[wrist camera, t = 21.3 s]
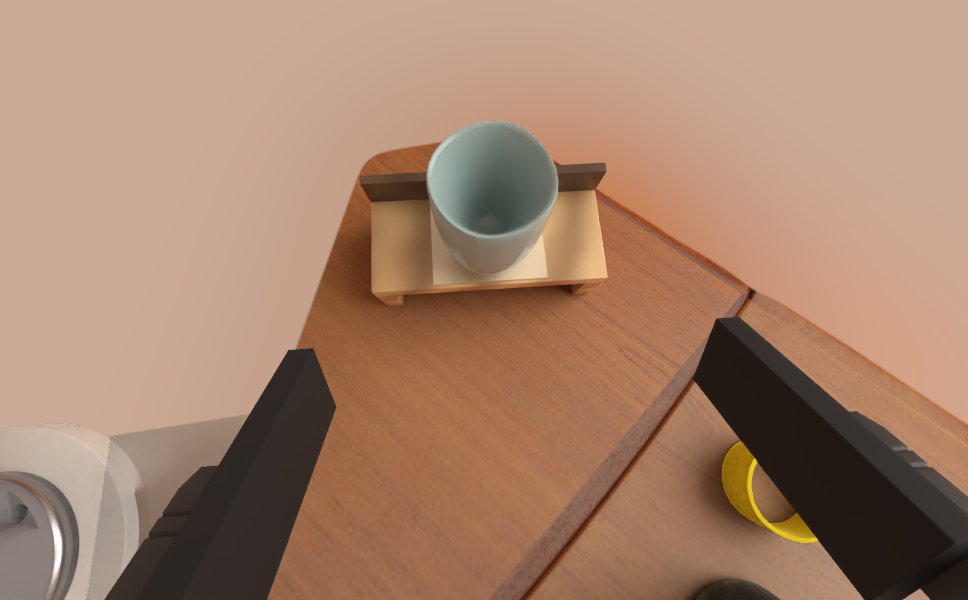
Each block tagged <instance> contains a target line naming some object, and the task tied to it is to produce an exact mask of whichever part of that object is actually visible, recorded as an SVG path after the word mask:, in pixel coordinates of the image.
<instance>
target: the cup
mask: <svg viewBox="0 0 968 600" xmlns="http://www.w3.org/2000/svg"><path fill="white" fill-rule="evenodd" d="M426 185H427V194H428V199H429V202H430V206H431V210H432V213H433V217H434V220H435V223H436V226H437V229H438V232H439V235H440V237H441V239H442V241H443V243H444V245H445V247H446V249H447V250H448V252H449V253H450V254H451V256H452V257H453V258H454V259H455V260H456V261H457V262H458V263H459V264H460V265H461V266H462V267H464V268H465V269H467V270H469V271H470V272H473V273H476V274H479V275H495V274H499V273H502V272H505V271H507V270H509V269H511V268H513V267H514V266H516V265H517V264H518V263H520V262H521V261H522V260H523V259H524V258H525V257H526V256H527V255H528V254H529V253H530V252H531V251H532V249H533V248H534V246H535V245H536V243H537V241H538V240H539V238H540V236H541V235H542V233H543V231H544V229H545V226H546V224H547V222H548V220H549V218H550V215H551V213H552V210H553V207H554V205H555V202H556V199H557V195H558V176H557V170H556V167H555V165H554V162H553V160H552V158H551V156H550V155H549V153H548V151H547V150H546V148H545V147H544V146H543V145H542V144H541V143H540V141H539V140H538V139H537V138H536V137H534V136H533V135H532V134H531V133H529V132H528V131H527V130H524V129H523V128H521V127H519V126H517V125H515V124H511V123H508V122H504V121H484V122H479V123H475V124H471V125H469V126H467V127H464V128H462V129H460V130H458V131H456V132H455V133H453V134H452V135H450V136H449V137H447V138H446V139H445V140H444V141H443V142H442V143H441V144H440V145H439V146H438V147H437V149H436V150H435V151H434V153H433V154H432V156H431V159H430V161H429V163H428V167H427V173H426Z"/></svg>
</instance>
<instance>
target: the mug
mask: <svg viewBox="0 0 968 600" xmlns="http://www.w3.org/2000/svg"><path fill="white" fill-rule="evenodd" d="M695 600H780V599H779V598H777V597H776V596H775V595H773V594H772V593H771V592H769V591H768V590H766V589H764V588H763V587H761V586H759V585H757V584H754V583H752V582H749V581H744V580H726V581H721V582H718V583H715V584H713V585H711V586H709V587H708V588H706V589H704V590H703V591H702V592H701V593H700V594H699V595H698V596H697V598H696V599H695Z"/></svg>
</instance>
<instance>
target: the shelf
mask: <svg viewBox="0 0 968 600" xmlns="http://www.w3.org/2000/svg"><path fill="white" fill-rule="evenodd" d="M555 167H556V170H557V176H558V195H557V199H556V202H555V205H554V207H553V210H552V213H551V215H550V218H549V220H548V222H547V224H546V226H545V229H544V231H543V233H542V235H541V236H540V238H539V240H538V241H537V243H536V245H535V246H534V248H533V249H532V251H531V252H530V253H529V254H528V255H527V256H526V257H525V258H524V259H523V260H522V261H521V262H520V263H518V264H517V265H516V266H514V267H513V268H511V269H509V270H507V271H505V272H502V273H499V274H495V275H479V274H476V273H473V272H470V271H469V270H467V269H465V268H464V267H462V266H461V265H460V264H459V263H458V262H457V261H456V260H455V259H454V258H453V257H452V256H451V254H450V253H449V252H448V250H447V249H446V247H445V245H444V243H443V241H442V239H441V237H440V235H439V232H438V229H437V226H436V223H435V220H434V217H433V213H432V210H431V206H430V202H429V199H428V194H427V185H426V173H427V172H422V173H403V174H384V175H365V176H360V185H361V187H362V188H363V190H364V191H365V193H366V195H367V196H368V198H369V200H370V201H371V292H372V293H373V294H374V295H375V296H377V297H378V298H379V299H380V300H381V301H383V302H384V303H385V304H386V305H388V306H389V307H392V306H404V295H409V294H425V293H440V292H456V291H472V290H488V289H504V288H519V287H535V286H551V285H567V284H571V287H572V294H573V295H578V294H587V293H588V292H590V291H591V290H592V289H594V288H595V287H596V286H597V285H599V284H600V283H601V282H603V281H604V280H605V279H607V270H606V263H605V257H604V250H603V243H602V237H601V230H600V223H599V216H598V210H597V203H596V196H595V189H596V187H597V186H598V184H599V182H600V181H601V179H602V178H603V176H604V174H605V173H606V165H605V163H591V164H573V165H555Z"/></svg>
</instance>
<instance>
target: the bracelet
mask: <svg viewBox="0 0 968 600" xmlns="http://www.w3.org/2000/svg"><path fill="white" fill-rule="evenodd" d="M756 464H757V461H756V459H755V458H754V457H753V455H752V454H751V453H750V452H749V450H748V449H747V448H746V446H745V445H744V444H743V443H742V441H740V442H738V443H736V444H735V445H734V446H732V447H731V448H730V450H729V451H728V452H727V454H726V456H725V458H724V461H723V465H722V484H723V488H724V491H725V493H726V496H727V497H728V499H729V501H730V502H731V504H732V505H733V506H734V507H735V509H736V510H737V511H738V512H739V513H740V514H742V515H743V516H744V517H745V518H747V519H749V520H750V521H752V522H754V523H755V524H757V525H759V526H761V527H763V528H765V529H767V530H769V531H770V532H773V533H775V534H777V535H779V536H781V537H784V538H786V539H788V540H791V541H795V542H801V543H812V542H817V541H818V539H817V538H816V537H815V535H814V534H813V533H812V532H811V530H810V529H809V528H808V526H807V525H806V524H805V523H804V521H803V520H802V519H801V517H800V516H799V515H798V514H797V513H796V514H795V515H794V516H793V517H791V518H790V519H788V520H786V521H784V522H779V523H768V522H767V521H766V520H765V518H764V517H763V516H762V515H761V513H760V511H759V510H758V508H757V507H756V504H755V502H754V498H753V494H752V486H751V481H752V474H753V470H754V468H755V465H756Z"/></svg>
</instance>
